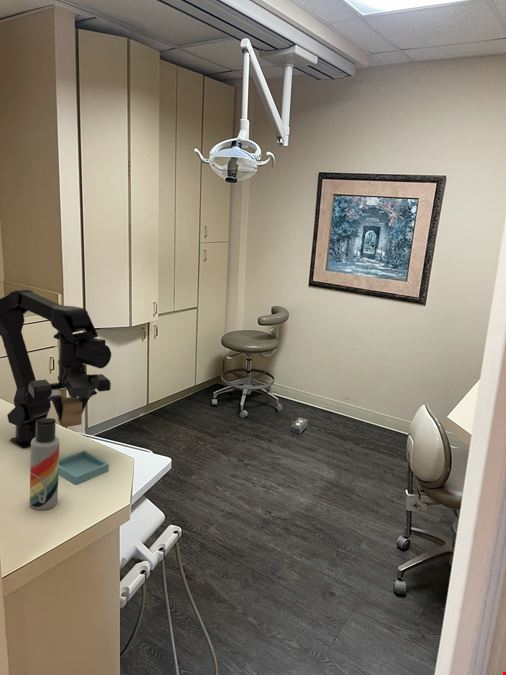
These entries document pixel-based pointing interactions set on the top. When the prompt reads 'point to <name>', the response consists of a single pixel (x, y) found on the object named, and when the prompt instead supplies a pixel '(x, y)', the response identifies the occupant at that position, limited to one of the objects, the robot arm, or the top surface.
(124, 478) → the top surface
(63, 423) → the walnut block
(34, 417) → the robot arm
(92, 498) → the top surface
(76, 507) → the top surface
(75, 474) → the teal tray
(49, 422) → the lotion bottle
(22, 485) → the top surface
